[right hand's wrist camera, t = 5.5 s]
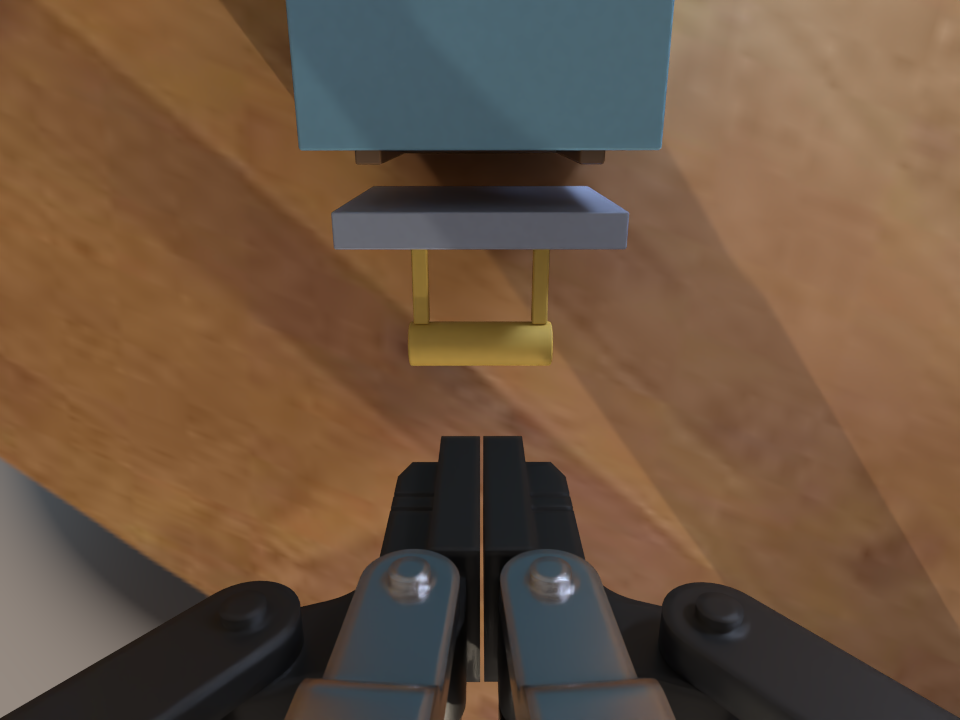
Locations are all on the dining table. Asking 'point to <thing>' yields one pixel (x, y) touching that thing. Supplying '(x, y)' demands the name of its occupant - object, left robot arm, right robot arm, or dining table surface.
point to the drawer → (480, 225)
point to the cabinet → (480, 74)
